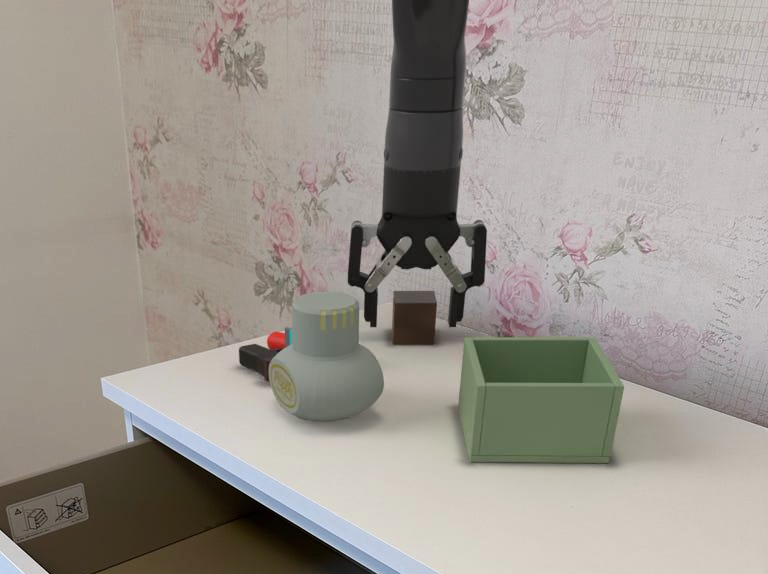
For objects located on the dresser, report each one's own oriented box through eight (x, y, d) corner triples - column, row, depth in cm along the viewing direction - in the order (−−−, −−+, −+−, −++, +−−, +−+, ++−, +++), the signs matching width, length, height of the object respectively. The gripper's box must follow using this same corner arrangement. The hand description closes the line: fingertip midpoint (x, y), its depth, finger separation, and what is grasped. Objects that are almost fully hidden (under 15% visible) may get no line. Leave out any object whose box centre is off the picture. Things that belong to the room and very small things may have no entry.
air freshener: (392, 424, 85) (397, 311, 79) (307, 440, 82) (307, 325, 76) (340, 382, 93) (341, 278, 87) (262, 396, 90) (258, 290, 85)
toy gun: (373, 368, 96) (374, 320, 93) (265, 390, 92) (264, 340, 89) (329, 340, 103) (329, 294, 100) (227, 359, 99) (224, 312, 96)
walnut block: (431, 331, 105) (434, 290, 102) (434, 344, 101) (437, 302, 99) (391, 331, 105) (393, 290, 102) (392, 344, 102) (394, 303, 99)
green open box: (582, 408, 87) (595, 337, 83) (609, 463, 78) (624, 386, 74) (457, 407, 87) (464, 337, 84) (469, 462, 78) (477, 385, 74)
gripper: (491, 152, 95) (475, 314, 105) (350, 153, 96) (346, 314, 106) (500, 166, 89) (482, 337, 99) (349, 167, 90) (346, 336, 100)
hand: (412, 325), depth 102 cm, fingers open, 8 cm apart
